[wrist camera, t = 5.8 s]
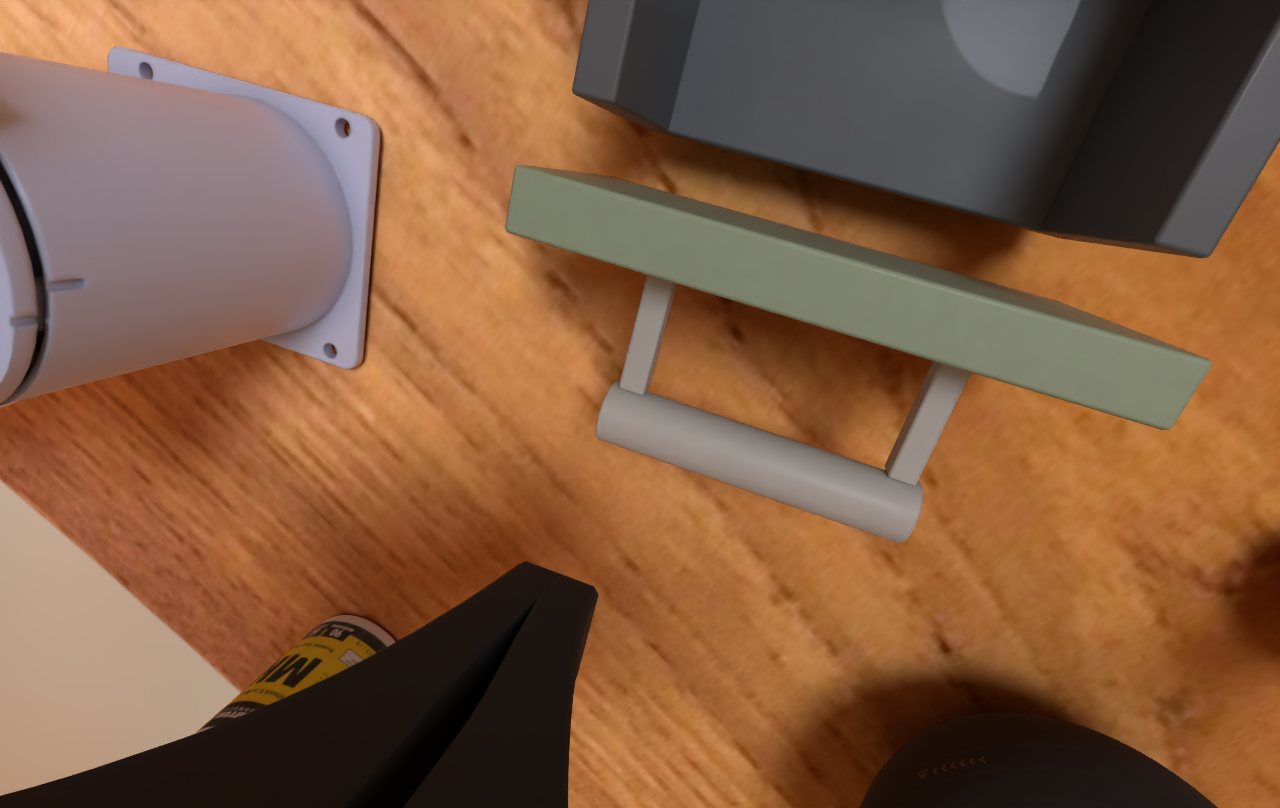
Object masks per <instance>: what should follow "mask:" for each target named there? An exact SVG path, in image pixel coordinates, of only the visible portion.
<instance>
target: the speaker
mask: <svg viewBox="0 0 1280 808" xmlns="http://www.w3.org/2000/svg"><path fill="white" fill-rule="evenodd" d="M860 808H1218V807H1216V806H1215V805H1214V804H1213V803H1212V802H1211V801H1209V800H1208V799H1207V798H1206V797H1205V796H1203V795H1202V794H1201V793H1200V792H1198V791H1197V790H1196V789H1195V788H1193V787H1192V786H1191V785H1189V784H1188V783H1187V782H1185V781H1184V780H1183V779H1181V778H1180V777H1179V776H1177V775H1176V774H1174V773H1173V772H1171V771H1170V770H1168V769H1167V768H1165V767H1164V766H1162V765H1161V764H1159V763H1158V762H1156V761H1154V760H1153V759H1151V758H1149V757H1148V756H1146V755H1144V754H1142V753H1141V752H1139V751H1137V750H1135V749H1133V748H1131V747H1130V746H1128V745H1126V744H1124V743H1122V742H1120V741H1117V740H1115V739H1113V738H1111V737H1109V736H1106V735H1104V734H1102V733H1099V732H1097V731H1094V730H1091V729H1089V728H1086V727H1083V726H1080V725H1077V724H1074V723H1070V722H1067V721H1063V720H1059V719H1055V718H1050V717H1045V716H1040V715H1033V714H1025V713H1010V712H997V713H983V714H975V715H969V716H965V717H960V718H956V719H953V720H950V721H947V722H944V723H941V724H939V725H937V726H934V727H932V728H930V729H928V730H926V731H924V732H923V733H921V734H919V735H918V736H916V737H915V738H913V739H912V740H910V741H909V742H908V743H906V744H905V745H904V746H903V747H902V748H900V749H899V750H898V751H897V752H896V753H895V754H894V755H893V756H892V757H891V758H890V759H889V760H888V761H887V763H886V764H885V765H884V766H883V768H882V769H881V770H880V772H879V773H878V774H877V776H876V777H875V779H874V780H873V782H872V784H871V786H870V787H869V789H868V791H867V793H866V795H865V797H864V799H863V802H862V804H861V807H860Z"/></svg>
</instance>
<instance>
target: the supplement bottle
mask: <svg viewBox="0 0 1280 808" xmlns="http://www.w3.org/2000/svg"><path fill="white" fill-rule="evenodd" d="M395 642H396V641H395V640H394V639H393V638H392V637H391V636H390V635H389V634H388V633H387V632H386V631H384V630H383V629H382V628H381V627H379V626H378V625H376V624H374V623H373V622H371V621H369V620H366V619H364V618H361V617H357V616H352V615H339V616H335V617H332V618H329V619H327V620H325V621H324V622H322V623H321V624H320V625H318V626H317V627H316V628H315V629H313V630H312V631H311V632H310V633H309V634H308V635H307V636H305V637H304V638H303V639H302V640H301V641H300V642H299V643H297V644H296V645H295V646H294V647H293V648H292V649H291V650H289V651H288V652H287V653H286V654H285V655H284V656H283V657H282V658H280V659H279V660H278V661H277V662H276V663H275V664H274V665H272V666H271V667H270V668H269V669H268V670H267V671H266V672H264V673H263V674H262V675H261V676H260V677H259V678H258V679H256V680H255V681H254V682H253V683H252V684H251V685H250V686H249V687H248V688H246V689H245V690H244V691H243V692H242V693H240V694H239V695H238V696H237V697H236V698H235V699H234V700H233V701H232V702H231V703H229V704H228V705H227V706H226V707H225V708H223V709H222V710H221V711H220V712H219V713H218V714H216V715H215V716H214V717H213V718H212V719H211V720H210V721H209V722H207V723H206V724H205V725H204V726H203V727H202V728H201V729H200V730H199V731H197V732H196V733H199V732H201V731H204V730H207V729H209V728H212V727H214V726H217V725H220V724H222V723H225V722H227V721H230V720H232V719H234V718H237V717H239V716H242V715H244V714H246V713H249V712H251V711H254V710H256V709H259V708H261V707H263V706H266V705H268V704H271V703H273V702H276V701H278V700H280V699H283V698H285V697H287V696H289V695H292V694H294V693H296V692H298V691H300V690H302V689H305V688H307V687H309V686H311V685H313V684H316V683H318V682H320V681H322V680H324V679H326V678H328V677H330V676H332V675H334V674H336V673H338V672H340V671H342V670H344V669H346V668H348V667H350V666H352V665H354V664H356V663H358V662H360V661H362V660H364V659H366V658H368V657H370V656H371V655H373V654H375V653H377V652H379V651H380V650H382V649H384V648H386V647H388V646H390V645H391V644H393V643H395ZM196 733H195V734H196Z"/></svg>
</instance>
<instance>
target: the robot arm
mask: <svg viewBox="0 0 1280 808" xmlns="http://www.w3.org/2000/svg"><path fill="white" fill-rule="evenodd" d="M152 72H153V76H152ZM347 121H348V123H349V124H350V129H351V131H350V134H349V136H347V135H346V133H345V130H344V126H345V123H346V122H347ZM379 149H380V130H379V127H378V125H377V123H376V122H375V121H374V120H373V118H371V117H369V116H367V115H364V114H360V113H357V112H353V111H349V110H346V109H342V108H339V107H335V106H332V105H328V104H325V103H321V102H317V101H314V100H310V99H307V98H303V97H300V96H296V95H292V94H289V93H285V92H282V91H278V90H275V89H271V88H268V87H264V86H260V85H257V84H253V83H250V82H246V81H243V80H239V79H236V78H232V77H228V76H225V75H221V74H218V73H214V72H211V71H207V70H203V69H200V68H196V67H193V66H189V65H186V64H182V63H179V62H175V61H171V60H168V59H164V58H161V57H157V56H154V55H150V54H147V53H143V52H139V51H136V50H132V49H128V48H124V47H117V46H115V47H113V48H112V49H111V50H110V52H109V54H108V72H105V71H100V70H94V69H89V68H84V67H78V66H73V65H68V64H62V63H57V62H52V61H46V60H41V59H36V58H30V57H25V56H20V55H14V54H9V53H4V52H0V406H1V405H5V404H9V403H13V402H17V401H21V400H25V399H28V398H32V397H36V396H40V395H44V394H48V393H52V392H56V391H60V390H64V389H67V388H71V387H75V386H79V385H83V384H87V383H91V382H95V381H99V380H103V379H107V378H110V377H114V376H118V375H122V374H126V373H130V372H134V371H138V370H142V369H146V368H149V367H153V366H157V365H161V364H165V363H169V362H173V361H177V360H181V359H185V358H188V357H192V356H196V355H200V354H204V353H208V352H212V351H216V350H220V349H224V348H227V347H231V346H235V345H239V344H243V343H247V342H251V341H255V340H259V339H260V340H263V341H266V342H269V343H272V344H274V345H277V346H280V347H283V348H286V349H289V350H291V351H294V352H297V353H300V354H303V355H306V356H308V357H311V358H314V359H317V360H320V361H323V362H325V363H328V364H331V365H334V366H337V367H340V368H343V369H351V368H354V367H356V366H359V365H360V363H361V362H362V359H363V351H364V339H365V326H366V313H367V301H368V288H369V275H370V263H371V250H372V237H373V225H374V212H375V199H376V187H377V174H378V161H379ZM332 345H334V346H335V348H336V350H337V354H335V353H334V352H333V350H332ZM597 598H598V593H597V591H596V589H595V588H594V586H591V585H589V584H586V583H583V582H581V581H578V580H575V579H573V578H570V577H567V576H564V575H562V574H559V573H556V572H554V571H551V570H548V569H546V568H543V567H540V566H538V565H535V564H532V563H529V562H527V561H525V562H523V563H520V564H518V565H517V566H515V567H514V568H513V569H511V570H510V571H508V572H507V573H505V574H504V575H502V576H501V577H500V578H498V579H497V580H495V581H494V582H492V583H491V584H489V585H488V586H486V587H485V588H483V589H482V590H480V591H479V592H477V593H476V594H474V595H473V596H471V597H470V598H468V599H467V600H465V601H464V602H462V603H461V604H459V605H457V606H456V607H454V608H452V609H451V610H449V611H448V612H446V613H444V614H443V615H441V616H439V617H438V618H436V619H435V620H433V621H431V622H430V623H428V624H426V625H425V626H423V627H422V628H420V629H418V630H416V631H415V632H413V633H411V634H410V635H408V636H406V637H404V638H402V639H400V640H399V641H397V642H395V643H393V644H391V645H390V646H388V647H386V648H384V649H382V650H380V651H379V652H377V653H375V654H373V655H371V656H370V657H368V658H366V659H364V660H362V661H360V662H358V663H356V664H354V665H352V666H350V667H348V668H346V669H344V670H342V671H340V672H338V673H336V674H334V675H332V676H330V677H328V678H326V679H324V680H322V681H320V682H318V683H316V684H313V685H311V686H309V687H307V688H305V689H302V690H300V691H298V692H296V693H294V694H292V695H289V696H287V697H285V698H283V699H280V700H278V701H276V702H273V703H271V704H268V705H266V706H263V707H261V708H259V709H256V710H254V711H251V712H249V713H246V714H244V715H242V716H239V717H237V718H234V719H232V720H230V721H227V722H225V723H222V724H220V725H217V726H214V727H212V728H209V729H207V730H204V731H201V732H199V733H196V734H194V735H191V736H188V737H185V738H183V739H180V740H177V741H174V742H171V743H168V744H165V745H162V746H159V747H156V748H153V749H150V750H147V751H144V752H141V753H138V754H135V755H132V756H129V757H127V758H124V759H121V760H118V761H115V762H112V763H109V764H106V765H103V766H100V767H97V768H94V769H91V770H88V771H84V772H82V773H78V774H75V775H72V776H69V777H65V778H62V779H58V780H55V781H52V782H48V783H45V784H42V785H38V786H35V787H31V788H28V789H24V790H21V791H17V792H13V793H9V794H5V795H2V796H0V808H568V768H569V745H570V728H571V714H572V703H573V694H574V686H575V680H576V677H577V674H578V671H579V667H580V663H581V659H582V655H583V652H584V648H585V644H586V640H587V636H588V633H589V629H590V625H591V621H592V617H593V614H594V610H595V606H596V602H597Z"/></svg>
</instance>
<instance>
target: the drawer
mask: <svg viewBox="0 0 1280 808" xmlns="http://www.w3.org/2000/svg"><path fill="white" fill-rule="evenodd" d="M572 90H573V93H574V94H575V95H576V96H578V97H580V98H583V99H585V100H587V101H589V102H591V103H593V104H595V105H597V106H599V107H601V108H604V109H606V110H608V111H610V112H612V113H614V114H616V115H618V116H620V117H622V118H625V119H627V120H629V121H631V122H633V123H635V124H637V125H640V126H642V127H644V128H646V129H648V130H652V131H656V132H660V133H664V134H667V135H671V136H675V137H679V138H683V139H686V140H690V141H694V142H698V143H701V144H705V145H709V146H713V147H717V148H720V149H724V150H728V151H732V152H735V153H739V154H743V155H747V156H751V157H754V158H758V159H762V160H766V161H769V162H773V163H777V164H781V165H785V166H788V167H792V168H796V169H800V170H804V171H807V172H811V173H815V174H819V175H822V176H826V177H830V178H834V179H838V180H841V181H845V182H849V183H853V184H856V185H860V186H864V187H868V188H872V189H875V190H879V191H883V192H887V193H890V194H894V195H898V196H902V197H906V198H909V199H913V200H917V201H921V202H925V203H928V204H932V205H936V206H940V207H943V208H947V209H951V210H955V211H959V212H962V213H966V214H970V215H974V216H977V217H981V218H985V219H989V220H993V221H996V222H1000V223H1004V224H1008V225H1011V226H1015V227H1019V228H1023V229H1027V230H1030V231H1034V232H1038V233H1042V234H1046V235H1049V236H1053V237H1057V238H1062V239H1069V240H1076V241H1083V242H1090V243H1097V244H1104V245H1111V246H1118V247H1125V248H1132V249H1139V250H1146V251H1153V252H1160V253H1168V254H1175V255H1182V256H1189V257H1196V258H1207V257H1209V256H1210V255H1211V254H1212V252H1213V251H1214V249H1215V247H1216V246H1217V244H1218V242H1219V241H1220V239H1221V237H1222V236H1223V234H1224V233H1225V231H1226V229H1227V228H1228V226H1229V224H1230V223H1231V221H1232V219H1233V218H1234V216H1235V214H1236V213H1237V211H1238V209H1239V208H1240V206H1241V204H1242V203H1243V201H1244V199H1245V198H1246V196H1247V194H1248V193H1249V191H1250V189H1251V188H1252V186H1253V184H1254V183H1255V181H1256V180H1257V178H1258V176H1259V175H1260V173H1261V171H1262V170H1263V168H1264V166H1265V165H1266V163H1267V161H1268V160H1269V158H1270V156H1271V155H1272V153H1273V151H1274V150H1275V148H1276V146H1277V145H1278V143H1279V141H1280V0H589V2H588V7H587V12H586V18H585V23H584V28H583V34H582V39H581V45H580V50H579V55H578V61H577V66H576V72H575V77H574V82H573V88H572ZM505 228H506V231H507V232H509V233H510V234H513V235H517V236H520V237H523V238H527V239H530V240H533V241H537V242H540V243H543V244H547V245H550V246H553V247H557V248H560V249H563V250H567V251H570V252H573V253H577V254H580V255H583V256H586V257H590V258H593V259H596V260H600V261H603V262H606V263H610V264H613V265H616V266H620V267H623V268H626V269H630V270H633V271H636V272H640V273H643V274H646V275H647V277H646V281H645V285H644V289H643V293H642V297H641V301H640V304H639V308H638V312H637V316H636V320H635V324H634V328H633V332H632V336H631V340H630V344H629V348H628V352H627V356H626V359H625V363H624V367H623V371H622V375H621V379H620V382H614V383H613V384H612V385H611V387H610V388H609V390H608V392H607V394H606V396H605V398H604V400H603V403H602V406H601V408H600V412H599V415H598V419H597V423H596V431H595V434H596V438H597V439H599V440H602V441H605V442H608V443H611V444H614V445H617V446H620V447H622V448H625V449H628V450H631V451H634V452H637V453H640V454H643V455H645V456H648V457H651V458H654V459H657V460H660V461H663V462H666V463H668V464H671V465H674V466H677V467H680V468H683V469H686V470H689V471H692V472H694V473H697V474H700V475H703V476H706V477H709V478H712V479H715V480H717V481H720V482H723V483H726V484H729V485H732V486H735V487H738V488H741V489H743V490H746V491H749V492H752V493H755V494H758V495H761V496H764V497H766V498H769V499H772V500H775V501H778V502H781V503H784V504H787V505H789V506H792V507H795V508H798V509H801V510H804V511H807V512H810V513H813V514H815V515H818V516H821V517H824V518H827V519H830V520H833V521H836V522H838V523H841V524H844V525H847V526H850V527H853V528H856V529H859V530H861V531H864V532H867V533H870V534H873V535H876V536H879V537H882V538H885V539H887V540H890V541H893V542H896V543H902V542H904V541H905V540H906V539H907V538H908V537H909V536H910V534H911V533H912V531H913V529H914V528H915V525H916V523H917V521H918V518H919V515H920V512H921V507H922V502H923V488H922V485H921V484H920V483H919V482H918V480H919V478H920V476H921V474H922V472H923V470H924V468H925V466H926V464H927V461H928V459H929V457H930V455H931V453H932V451H933V449H934V447H935V445H936V443H937V441H938V439H939V437H940V435H941V433H942V431H943V429H944V427H945V425H946V423H947V421H948V419H949V417H950V414H951V412H952V410H953V408H954V406H955V404H956V402H957V400H958V398H959V396H960V394H961V392H962V390H963V388H964V386H965V384H966V382H967V380H968V378H969V376H970V374H971V373H975V374H978V375H981V376H985V377H988V378H991V379H995V380H998V381H1001V382H1005V383H1008V384H1011V385H1015V386H1018V387H1021V388H1025V389H1028V390H1031V391H1035V392H1038V393H1041V394H1044V395H1048V396H1051V397H1054V398H1058V399H1061V400H1064V401H1068V402H1071V403H1074V404H1078V405H1081V406H1084V407H1088V408H1091V409H1094V410H1098V411H1101V412H1104V413H1108V414H1111V415H1114V416H1118V417H1121V418H1124V419H1127V420H1131V421H1134V422H1137V423H1141V424H1144V425H1147V426H1151V427H1154V428H1157V429H1161V430H1169V429H1170V428H1172V426H1173V425H1174V423H1175V422H1176V420H1177V419H1178V417H1179V416H1180V414H1181V413H1182V411H1183V409H1184V408H1185V406H1186V405H1187V403H1188V402H1189V400H1190V399H1191V397H1192V396H1193V394H1194V393H1195V391H1196V389H1197V388H1198V386H1199V385H1200V383H1201V382H1202V380H1203V379H1204V377H1205V376H1206V374H1207V372H1208V371H1209V369H1210V368H1211V365H1212V363H1211V361H1209V360H1208V359H1207V358H1204V357H1202V356H1199V355H1196V354H1194V353H1191V352H1189V351H1186V350H1183V349H1181V348H1178V347H1176V346H1173V345H1170V344H1168V343H1165V342H1163V341H1160V340H1157V339H1155V338H1152V337H1150V336H1147V335H1144V334H1142V333H1139V332H1137V331H1134V330H1131V329H1129V328H1126V327H1124V326H1121V325H1118V324H1116V323H1113V322H1111V321H1108V320H1106V319H1103V318H1100V317H1098V316H1095V315H1093V314H1090V313H1087V312H1085V311H1082V310H1080V309H1077V308H1074V307H1072V306H1069V305H1067V304H1064V303H1061V302H1059V301H1056V300H1052V299H1049V298H1045V297H1042V296H1038V295H1034V294H1031V293H1027V292H1024V291H1020V290H1016V289H1013V288H1009V287H1006V286H1002V285H998V284H995V283H991V282H988V281H984V280H981V279H977V278H973V277H970V276H966V275H963V274H959V273H955V272H952V271H948V270H945V269H941V268H938V267H934V266H930V265H927V264H923V263H920V262H916V261H912V260H909V259H905V258H902V257H898V256H895V255H891V254H887V253H884V252H880V251H877V250H873V249H869V248H866V247H862V246H859V245H855V244H852V243H848V242H844V241H841V240H837V239H834V238H830V237H826V236H823V235H819V234H816V233H812V232H809V231H805V230H801V229H798V228H794V227H791V226H787V225H783V224H780V223H776V222H773V221H769V220H765V219H762V218H758V217H755V216H751V215H748V214H744V213H740V212H737V211H733V210H730V209H726V208H722V207H719V206H715V205H712V204H708V203H705V202H701V201H697V200H694V199H690V198H687V197H683V196H679V195H676V194H672V193H669V192H665V191H662V190H658V189H654V188H651V187H647V186H644V185H640V184H636V183H633V182H629V181H626V180H622V179H619V178H615V177H610V176H603V175H595V174H587V173H580V172H572V171H565V170H557V169H549V168H542V167H534V166H526V165H517V166H516V168H515V171H514V177H513V183H512V190H511V196H510V202H509V208H508V215H507V221H506V227H505ZM677 284H679V285H683V286H686V287H689V288H693V289H696V290H699V291H703V292H706V293H709V294H713V295H716V296H719V297H723V298H726V299H729V300H732V301H736V302H739V303H742V304H746V305H749V306H752V307H756V308H759V309H762V310H766V311H769V312H772V313H776V314H779V315H782V316H786V317H789V318H792V319H796V320H799V321H802V322H806V323H809V324H812V325H815V326H819V327H822V328H825V329H829V330H832V331H835V332H839V333H842V334H845V335H849V336H852V337H855V338H859V339H862V340H865V341H869V342H872V343H875V344H879V345H882V346H885V347H888V348H892V349H895V350H898V351H902V352H905V353H908V354H912V355H915V356H918V357H922V358H925V359H928V360H932V361H933V362H932V364H931V366H930V368H929V370H928V373H927V375H926V377H925V379H924V381H923V384H922V386H921V388H920V390H919V392H918V394H917V397H916V399H915V401H914V403H913V405H912V407H911V410H910V412H909V414H908V416H907V418H906V420H905V423H904V425H903V427H902V429H901V431H900V433H899V436H898V438H897V440H896V442H895V444H894V447H893V449H892V451H891V453H890V455H889V457H888V460H887V462H886V464H885V469H886V470H883V469H880V468H877V467H874V466H871V465H868V464H865V463H862V462H859V461H856V460H853V459H850V458H847V457H844V456H841V455H838V454H835V453H831V452H828V451H825V450H822V449H819V448H816V447H813V446H810V445H807V444H804V443H801V442H798V441H795V440H792V439H789V438H786V437H783V436H780V435H777V434H774V433H771V432H768V431H765V430H762V429H759V428H756V427H753V426H750V425H747V424H744V423H741V422H738V421H735V420H732V419H729V418H726V417H723V416H720V415H717V414H714V413H711V412H708V411H705V410H701V409H698V408H695V407H692V406H689V405H686V404H683V403H680V402H677V401H674V400H671V399H668V398H665V397H662V396H659V395H656V394H653V393H650V392H647V391H646V390H647V389H648V388H649V386H650V382H651V378H652V375H653V371H654V368H655V364H656V360H657V357H658V353H659V349H660V346H661V342H662V338H663V335H664V331H665V328H666V324H667V320H668V317H669V313H670V309H671V306H672V302H673V299H674V295H675V291H676V288H677Z"/></svg>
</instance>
